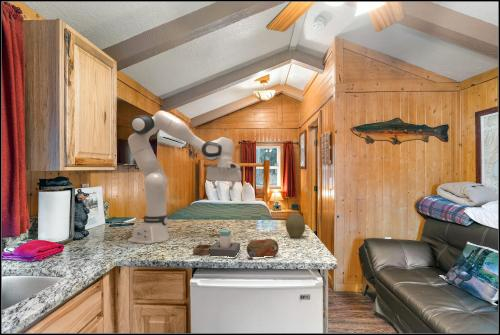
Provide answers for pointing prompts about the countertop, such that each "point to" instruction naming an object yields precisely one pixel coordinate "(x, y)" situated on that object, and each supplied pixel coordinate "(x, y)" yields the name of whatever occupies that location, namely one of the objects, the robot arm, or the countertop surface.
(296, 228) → the olive brown vase
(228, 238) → the blue capped bottle
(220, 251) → the port
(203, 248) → the brown shallow square box
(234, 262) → the countertop surface
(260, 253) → the tin
